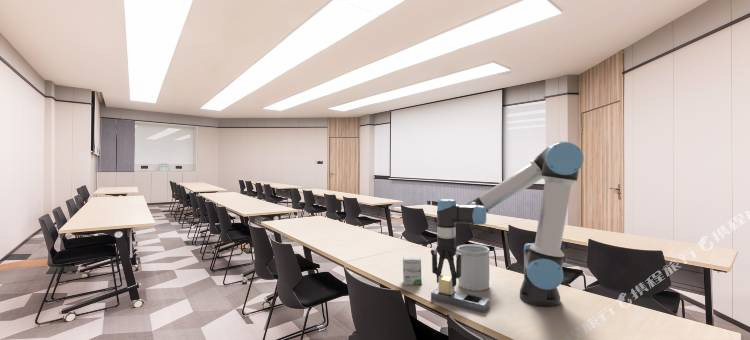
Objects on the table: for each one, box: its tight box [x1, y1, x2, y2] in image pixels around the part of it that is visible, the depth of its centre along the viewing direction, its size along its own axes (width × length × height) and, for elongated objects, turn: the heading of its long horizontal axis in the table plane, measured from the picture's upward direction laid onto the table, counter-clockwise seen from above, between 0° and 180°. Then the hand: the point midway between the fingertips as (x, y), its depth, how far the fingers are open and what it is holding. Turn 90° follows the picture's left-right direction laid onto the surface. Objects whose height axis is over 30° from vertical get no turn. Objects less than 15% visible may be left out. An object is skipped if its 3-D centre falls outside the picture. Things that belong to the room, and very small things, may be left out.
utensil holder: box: [456, 243, 490, 292], centre depth 153 cm, size 15×15×18 cm
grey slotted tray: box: [430, 286, 491, 314], centre depth 134 cm, size 22×7×3 cm, turn 54°
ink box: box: [402, 256, 422, 286], centre depth 157 cm, size 9×5×12 cm, turn 84°
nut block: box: [438, 275, 452, 296], centre depth 137 cm, size 4×4×6 cm
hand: (446, 292), depth 137 cm, fingers closed on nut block, 4 cm apart
